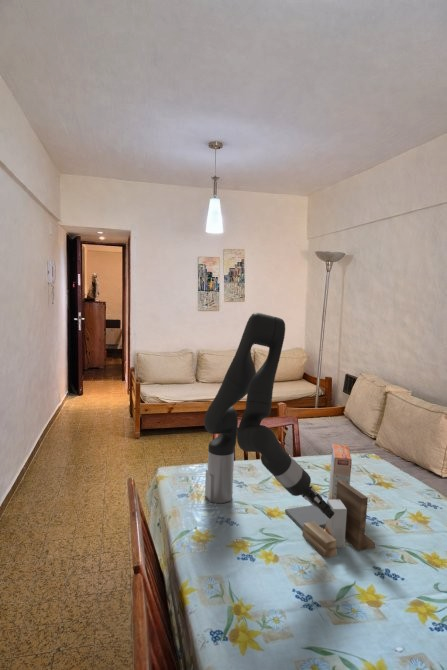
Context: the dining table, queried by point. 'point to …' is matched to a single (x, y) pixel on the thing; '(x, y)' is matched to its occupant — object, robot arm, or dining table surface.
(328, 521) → the skincare box
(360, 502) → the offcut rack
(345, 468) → the cracker box
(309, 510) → the slate pad
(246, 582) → the dining table surface
